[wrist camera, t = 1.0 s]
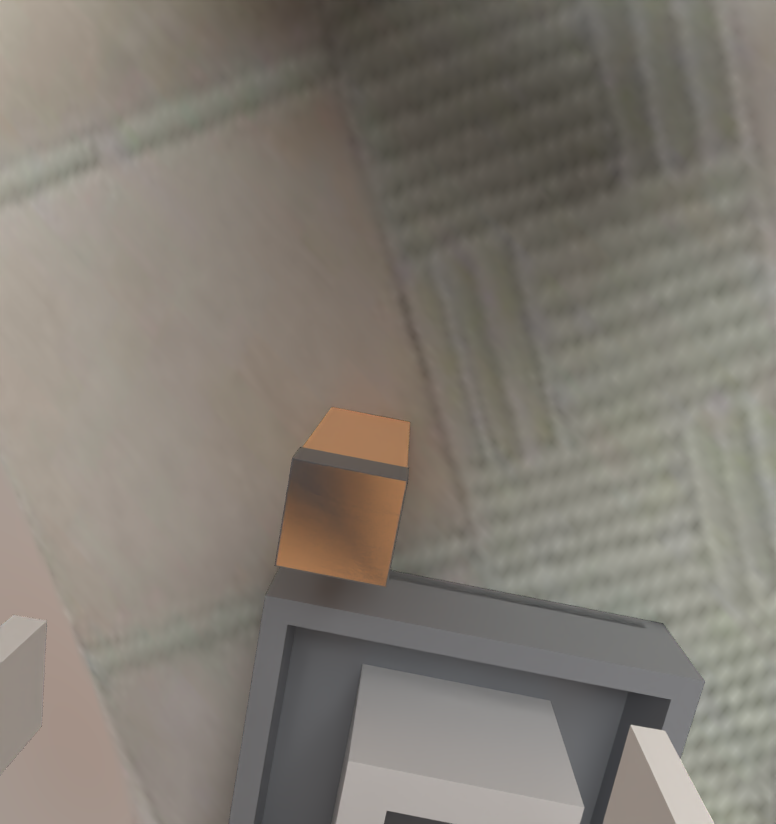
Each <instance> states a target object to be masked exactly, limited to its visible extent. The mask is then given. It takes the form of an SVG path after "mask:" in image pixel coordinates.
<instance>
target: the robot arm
mask: <svg viewBox="0 0 776 824" xmlns="http://www.w3.org/2000/svg"><path fill="white" fill-rule="evenodd" d="M46 630H47V621H46V620H40V619H35V618H29V617H23V616H18V615H13V616H12V617H10V618H9V619H8V620H7V621H5V622H4V623H3V624H2V625H1V626H0V775H1V774H2V773H3V772H4V770H5V769H6V768H7V767H8V766H9V764H10V763H11V762H12V761H13V760H14V759H15V758H16V756H17V755H18V754H19V753H20V752H21V750H22V749H23V748H24V747H25V746H26V744H27V743H28V742H29V741H30V740H31V738H32V737H33V736H34V735H35V734H36V733H37V731H38V730H39V729H40V728H41V727H42V711H43V692H44V671H45V651H46ZM603 824H714V822H713V820H712V818H711V816H710V814H709V813H708V811H707V809H706V807H705V805H704V803H703V801H702V799H701V797H700V796H699V794H698V792H697V790H696V788H695V786H694V784H693V782H692V780H691V779H690V777H689V775H688V773H687V771H686V769H685V767H684V765H683V763H682V762H681V760H680V758H679V756H678V754H677V752H676V750H675V748H674V746H673V745H672V743H671V741H670V739H669V737H668V735H667V733H666V731H663V730H658V729H652V728H646V727H641V726H635V725H630V728H629V732H628V735H627V739H626V743H625V746H624V750H623V753H622V757H621V760H620V764H619V767H618V771H617V774H616V778H615V782H614V785H613V789H612V792H611V796H610V799H609V803H608V806H607V810H606V814H605V817H604V821H603Z"/></svg>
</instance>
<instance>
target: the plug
mask: <svg viewBox="0 0 776 824" xmlns="http://www.w3.org/2000/svg"><path fill="white" fill-rule="evenodd" d="M409 431H410V422H407V421H402V420H397V419H392V418H387V417H381V416H376V415H371V414H366V413H361V412H355V411H350V410H345V409H340V408H335V407H331V409H330V410H329V411H328V413H327V414H326V415H325V417H324V418H323V420H322V421H321V422H320V424H319V425H318V426H317V428H316V429H315V431H314V432H313V433H312V435H311V436H310V437H309V439H308V440H307V442H306V443H305V444H304V446H303V447H300V448H299V450H298V451H297V452H296V454H295V455H294V456H293V458H292V462H291V468H290V475H289V481H288V487H287V493H286V499H285V505H284V512H283V518H282V524H281V530H280V536H279V542H278V549H277V555H276V561H275V566H276V567H282V568H287V569H292V570H297V571H302V572H307V573H312V574H317V575H323V576H328V577H333V578H338V579H343V580H348V581H353V582H358V583H364V584H369V585H374V586H379V587H384V588H387V583H388V578H389V573H390V568H391V563H392V558H393V553H394V548H395V543H396V538H397V533H398V528H399V523H400V518H401V513H402V508H403V503H404V498H405V493H406V489H407V484H408V473H409V468H408V467H407V464H408V448H409Z"/></svg>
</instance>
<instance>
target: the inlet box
mask: <svg viewBox="0 0 776 824" xmlns="http://www.w3.org/2000/svg"><path fill="white" fill-rule="evenodd" d="M704 683H705V680H704V679H703V678H702V676H701V675H700V674H699V672H698V671H697V669H696V668H695V667H694V665H693V664H692V663H691V661H690V660H689V658H688V657H687V656H686V654H685V653H684V652H683V650H682V649H681V647H680V646H679V645H678V643H677V642H676V641H675V639H674V638H673V636H672V635H671V634H670V632H669V631H668V630H667V628H666V627H665V626H664V624H663V623H658V622H653V621H648V620H643V619H638V618H633V617H628V616H622V615H617V614H612V613H607V612H602V611H597V610H592V609H587V608H581V607H576V606H571V605H566V604H561V603H556V602H551V601H545V600H540V599H535V598H530V597H525V596H520V595H515V594H509V593H504V592H499V591H494V590H489V589H484V588H479V587H474V586H468V585H463V584H458V583H453V582H448V581H443V580H438V579H432V578H427V577H422V576H417V575H412V574H407V573H402V572H397V571H391V570H390V573H389V578H388V583H387V588H384V587H379V586H374V585H369V584H364V583H358V582H353V581H348V580H343V579H338V578H333V577H328V576H323V575H317V574H312V573H307V572H302V571H297V570H292V569H287V568H282V567H279V569H278V571H277V573H276V575H275V577H274V579H273V581H272V583H271V585H270V587H269V589H268V591H267V593H266V595H265V600H264V607H263V613H262V619H261V625H260V632H259V638H258V644H257V650H256V656H255V663H254V669H253V675H252V681H251V688H250V694H249V700H248V706H247V713H246V719H245V725H244V731H243V737H242V744H241V750H240V756H239V762H238V769H237V775H236V781H235V787H234V794H233V800H232V806H231V812H230V818H229V824H603V821H604V817H605V814H606V810H607V806H608V803H609V799H610V796H611V792H612V789H613V785H614V782H615V778H616V774H617V771H618V767H619V764H620V760H621V757H622V753H623V750H624V746H625V743H626V739H627V735H628V732H629V728H630V725H635V726H641V727H646V728H652V729H658V730H663V731H666V733H667V735H668V737H669V739H670V741H671V743H672V745H673V746H674V748H675V750H676V752H677V754H678V756H679V758H681V755H682V752H683V749H684V746H685V743H686V740H687V737H688V733H689V730H690V727H691V724H692V721H693V718H694V715H695V711H696V708H697V705H698V702H699V699H700V696H701V693H702V690H703V686H704Z"/></svg>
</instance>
